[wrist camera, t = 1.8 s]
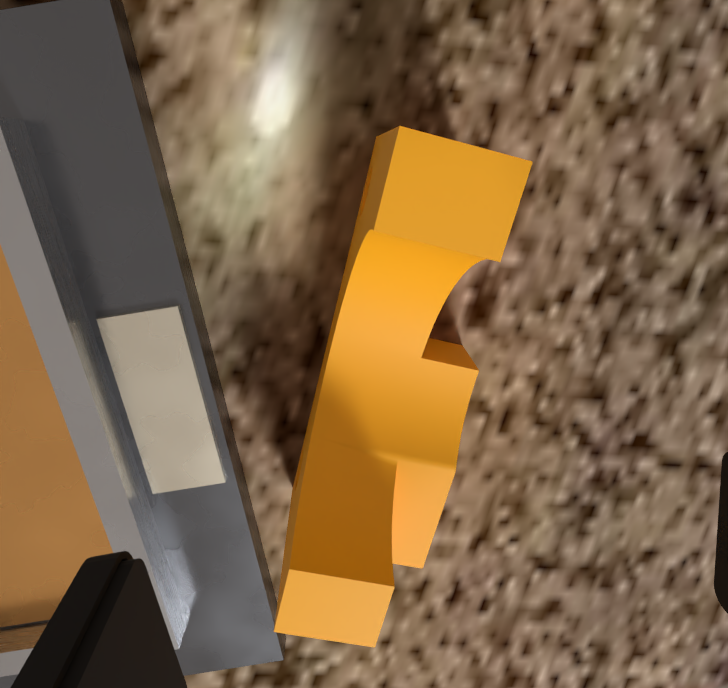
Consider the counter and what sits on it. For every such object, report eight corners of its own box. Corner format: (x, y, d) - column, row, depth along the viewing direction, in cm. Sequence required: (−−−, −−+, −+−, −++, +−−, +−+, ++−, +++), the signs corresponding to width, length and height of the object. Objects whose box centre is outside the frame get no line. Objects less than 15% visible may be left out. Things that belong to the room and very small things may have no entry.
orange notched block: (409, 506, 20) (441, 657, 14) (292, 484, 20) (273, 631, 14) (515, 174, 17) (618, 185, 11) (376, 136, 16) (399, 125, 10)
